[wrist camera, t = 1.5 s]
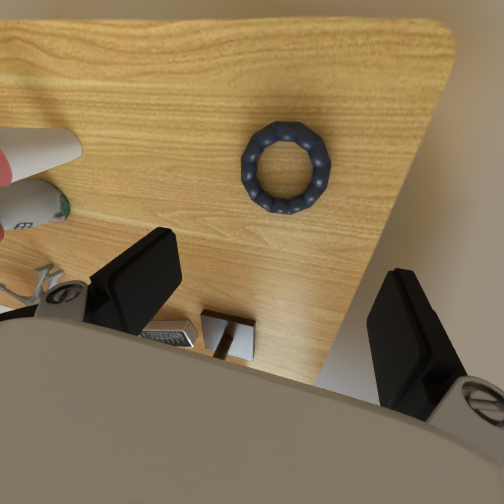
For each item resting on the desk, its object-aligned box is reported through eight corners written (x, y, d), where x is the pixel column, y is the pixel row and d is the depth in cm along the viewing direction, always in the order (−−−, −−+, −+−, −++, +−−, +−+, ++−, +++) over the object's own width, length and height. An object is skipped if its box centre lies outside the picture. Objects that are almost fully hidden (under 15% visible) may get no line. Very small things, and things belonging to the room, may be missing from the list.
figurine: (80, 304, 41) (53, 365, 46) (113, 284, 49) (87, 337, 54) (-15, 247, 40) (-33, 316, 44) (35, 236, 48) (15, 295, 53)
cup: (67, 168, 32) (-50, 199, 22) (42, 124, 29) (-103, 135, 19) (96, 163, 30) (-16, 193, 20) (73, 115, 27) (-69, 123, 18)
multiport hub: (199, 337, 44) (193, 347, 42) (154, 336, 48) (147, 345, 46) (189, 320, 42) (183, 330, 40) (143, 320, 46) (135, 330, 44)
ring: (338, 123, 21) (339, 124, 20) (321, 215, 26) (320, 221, 24) (243, 119, 23) (238, 120, 21) (243, 205, 28) (239, 210, 26)
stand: (255, 320, 37) (232, 391, 28) (254, 355, 42) (233, 424, 33) (203, 309, 39) (165, 371, 30) (208, 343, 44) (176, 405, 35)
